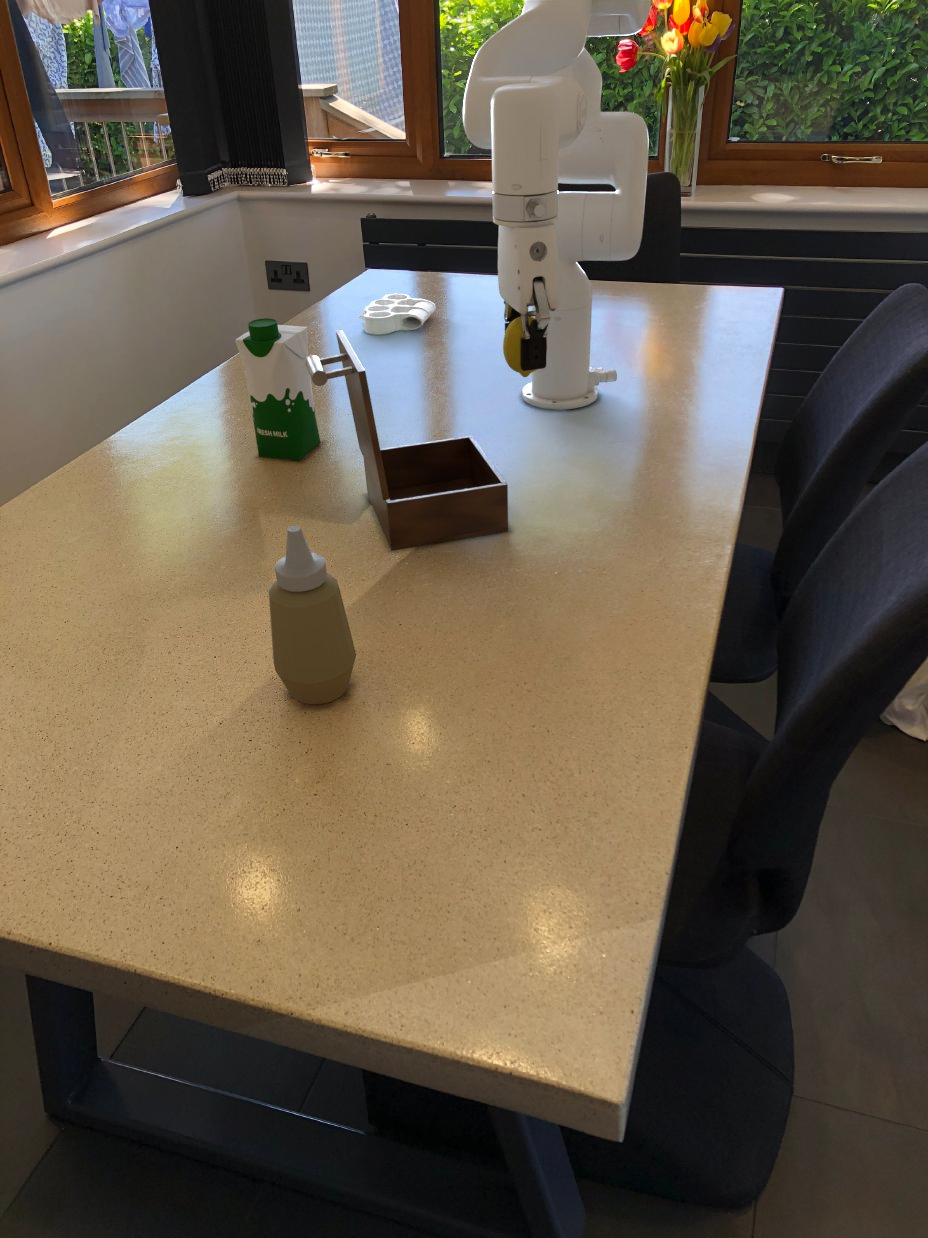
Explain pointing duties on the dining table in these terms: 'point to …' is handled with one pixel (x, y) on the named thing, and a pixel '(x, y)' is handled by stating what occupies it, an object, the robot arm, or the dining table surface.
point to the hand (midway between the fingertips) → (525, 359)
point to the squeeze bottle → (309, 625)
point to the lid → (354, 404)
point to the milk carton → (279, 389)
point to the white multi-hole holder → (396, 314)
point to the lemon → (515, 345)
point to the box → (438, 493)
